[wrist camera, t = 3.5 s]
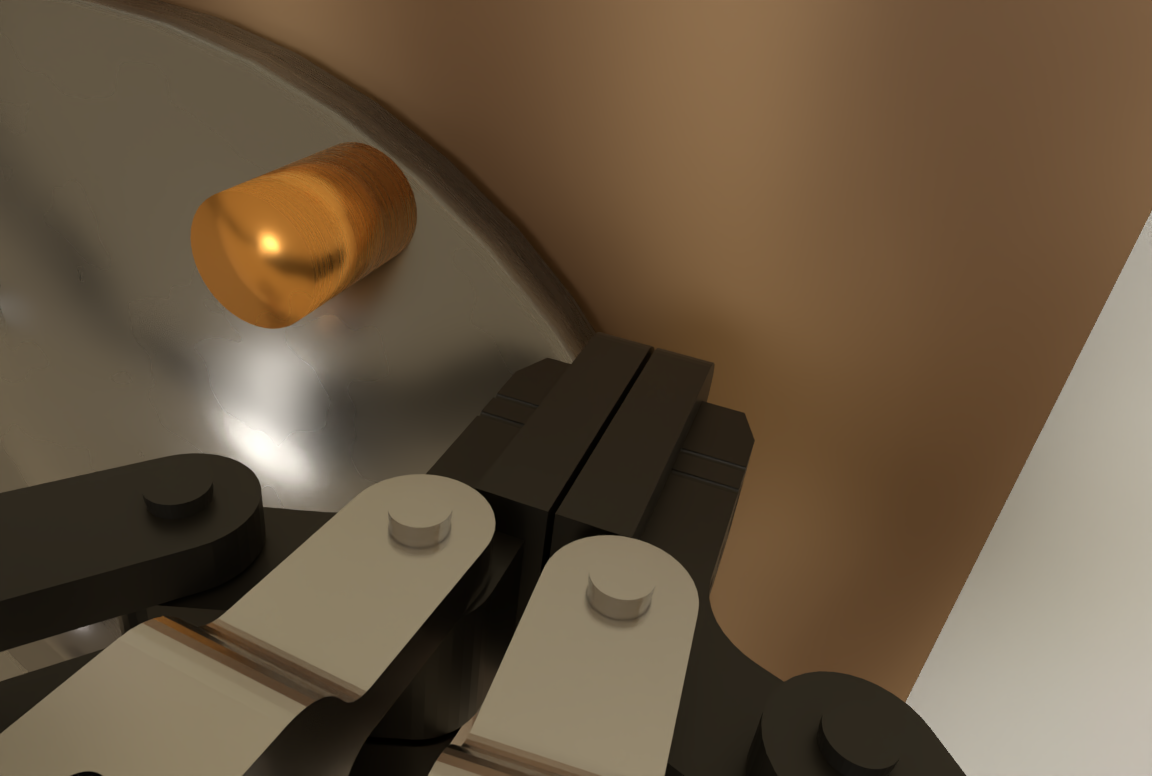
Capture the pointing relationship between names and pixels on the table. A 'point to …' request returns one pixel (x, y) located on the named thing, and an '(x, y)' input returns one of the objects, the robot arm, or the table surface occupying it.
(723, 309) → the stand
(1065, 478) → the table surface
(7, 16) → the round metal platter
